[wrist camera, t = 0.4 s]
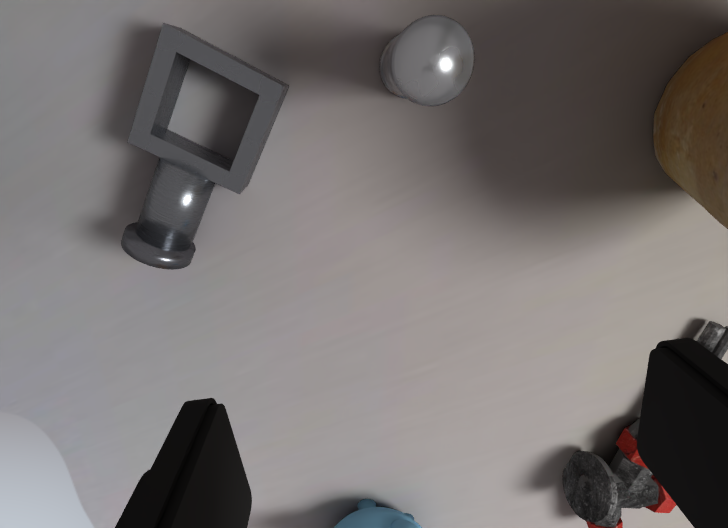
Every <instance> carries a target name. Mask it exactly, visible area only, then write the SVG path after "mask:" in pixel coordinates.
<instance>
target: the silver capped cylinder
mask: <svg viewBox="0 0 728 528" xmlns="http://www.w3.org/2000/svg"><path fill="white" fill-rule="evenodd" d="M473 68H474V48H473V44H472V41H471V39H470V37H469V35H468V33H467V32H466V30H465V29H464V28H463V27H462V26H461V25H460V24H459V23H458V22H456V21H455V20H453V19H451V18H449V17H446V16H441V15H430V16H425V17H422V18H420V19H417V20H416V21H414V22H413V23H411V24H410V25H409V26H408V27H406V28H405V29H404V30H403V31H402V32H401V33H400V34H399V35H397V36H396V37H394V38H393V39H392V40H391V41H390V42H389V43H388V44H387V45H386V47H385V48H384V50H383V52H382V55H381V58H380V63H379V69H380V75H381V79H382V81H383V83H384V85H385V86H386V88H387V89H388V90H389V91H390V92H392V93H393V94H395V95H397V96H399V97H402V98H406V99H408V100H410V101H412V102H414V103H417V104H420V105H424V106H438V105H442V104H445V103H447V102H449V101H451V100H453V99H454V98H455V97H457V96H458V95H459V94H460V93H461V92H462V91H463V89H464V88H465V87H466V85H467V84H468V82H469V80H470V78H471V75H472V72H473Z"/></svg>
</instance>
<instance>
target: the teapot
mask: <svg viewBox="0 0 728 528" xmlns="http://www.w3.org/2000/svg"><path fill="white" fill-rule="evenodd" d="M334 528H422V527H421V526H420V525H419V524H418V523H417V522H415V521H414V517H413V516H412V515H411V514H408V513H402V512H400V511H397V510H394V509H391V508H385V507H376V503H375V502H374V501H373V500H371V499H363V500H361V501H360V502H359V503H358V511H355V512H353V513H351V514H349V515H347V516H346V517H345V518H343V519H342V520H341V521H340V522H339V523H338V524H337V525H336V526H335V527H334Z"/></svg>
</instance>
